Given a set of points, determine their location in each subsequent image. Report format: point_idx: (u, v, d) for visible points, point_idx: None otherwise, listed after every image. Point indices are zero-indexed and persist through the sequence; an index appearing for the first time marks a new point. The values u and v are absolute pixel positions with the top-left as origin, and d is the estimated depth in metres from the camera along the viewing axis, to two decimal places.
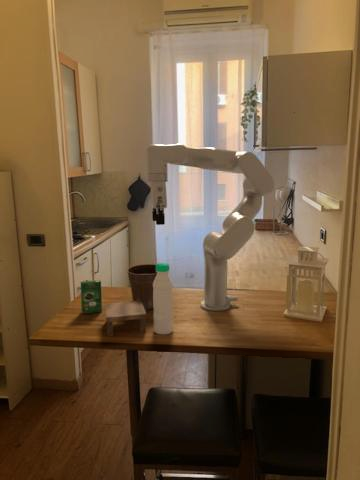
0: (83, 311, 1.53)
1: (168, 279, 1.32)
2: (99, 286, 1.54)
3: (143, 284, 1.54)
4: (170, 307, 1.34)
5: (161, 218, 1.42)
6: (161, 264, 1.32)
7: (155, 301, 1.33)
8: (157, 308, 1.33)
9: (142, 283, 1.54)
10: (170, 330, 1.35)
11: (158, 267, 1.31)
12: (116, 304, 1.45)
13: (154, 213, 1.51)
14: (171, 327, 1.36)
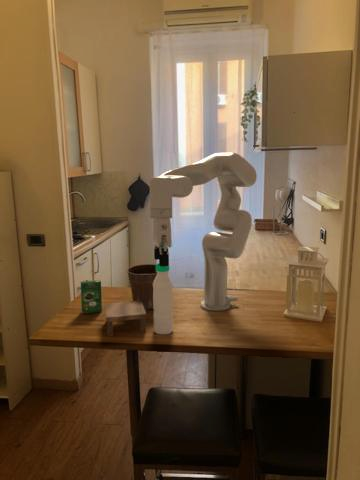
0: (83, 311, 1.53)
1: (168, 279, 1.32)
2: (99, 286, 1.54)
3: (143, 284, 1.54)
4: (170, 307, 1.34)
5: (165, 259, 1.26)
6: None
7: (155, 301, 1.33)
8: (157, 308, 1.33)
9: (142, 283, 1.54)
10: (170, 330, 1.35)
11: (158, 267, 1.31)
12: (116, 304, 1.45)
13: (156, 251, 1.36)
14: (171, 327, 1.36)
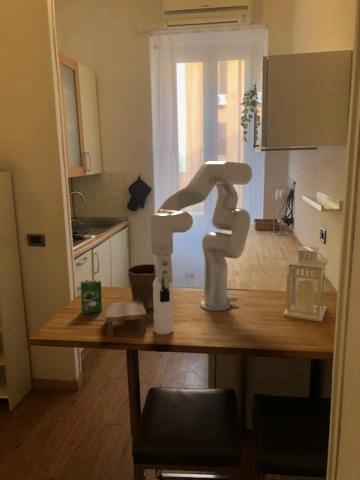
0: (83, 311, 1.53)
1: None
2: (99, 286, 1.54)
3: (143, 284, 1.54)
4: (170, 307, 1.34)
5: (166, 295, 1.30)
6: None
7: (155, 301, 1.33)
8: (157, 309, 1.33)
9: (142, 283, 1.54)
10: (170, 330, 1.35)
11: None
12: (116, 304, 1.45)
13: None
14: (171, 327, 1.36)
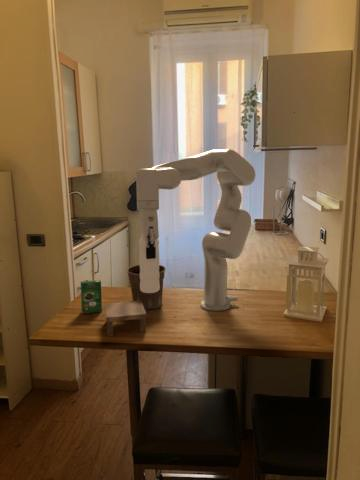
0: (83, 311, 1.53)
1: None
2: (99, 286, 1.54)
3: None
4: (156, 265, 1.32)
5: (152, 252, 1.29)
6: None
7: (141, 258, 1.31)
8: (143, 266, 1.31)
9: None
10: (156, 289, 1.33)
11: None
12: (116, 304, 1.45)
13: None
14: (157, 286, 1.34)
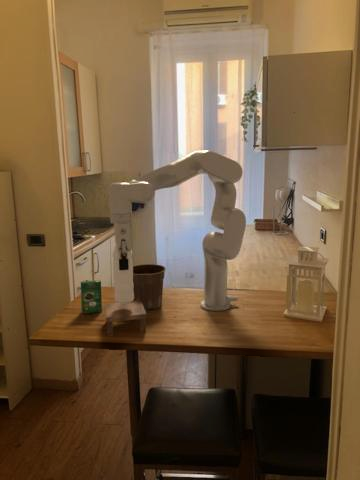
0: (83, 311, 1.53)
1: None
2: (99, 286, 1.54)
3: (143, 284, 1.54)
4: (130, 276, 1.36)
5: (124, 263, 1.33)
6: None
7: (115, 270, 1.35)
8: (116, 277, 1.35)
9: (142, 283, 1.54)
10: (130, 299, 1.37)
11: None
12: (116, 304, 1.45)
13: None
14: (131, 296, 1.38)
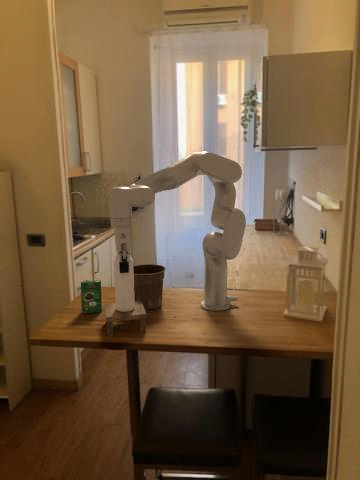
0: (83, 311, 1.53)
1: (128, 257, 1.35)
2: (99, 286, 1.54)
3: (143, 284, 1.54)
4: (131, 285, 1.36)
5: (125, 266, 1.32)
6: None
7: (116, 279, 1.35)
8: (118, 286, 1.35)
9: (142, 283, 1.54)
10: (131, 307, 1.38)
11: None
12: None
13: None
14: (132, 305, 1.38)
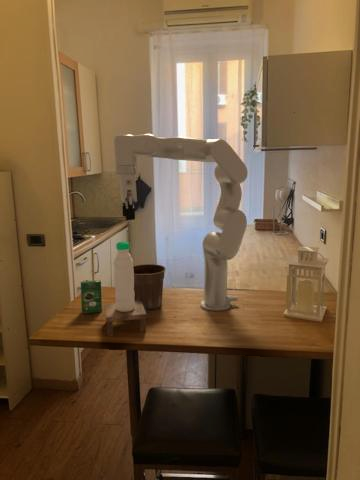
0: (83, 311, 1.53)
1: (128, 257, 1.35)
2: (99, 286, 1.54)
3: (143, 284, 1.54)
4: (131, 285, 1.36)
5: (131, 213, 1.34)
6: (122, 242, 1.35)
7: (116, 279, 1.35)
8: (118, 286, 1.35)
9: (142, 283, 1.54)
10: (131, 307, 1.38)
11: (118, 245, 1.33)
12: None
13: (124, 208, 1.43)
14: (132, 305, 1.38)
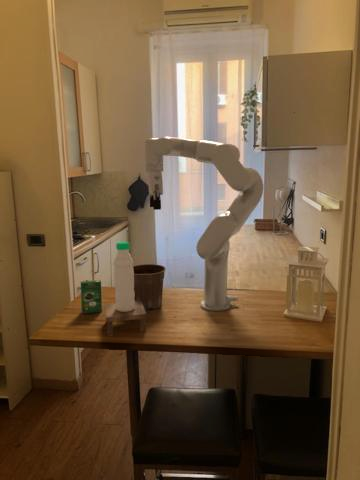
0: (83, 311, 1.53)
1: (129, 257, 1.35)
2: (99, 286, 1.54)
3: (143, 284, 1.54)
4: (131, 285, 1.36)
5: (158, 203, 1.60)
6: (122, 242, 1.35)
7: (116, 279, 1.35)
8: (118, 286, 1.35)
9: (142, 283, 1.54)
10: (131, 307, 1.38)
11: (118, 245, 1.34)
12: None
13: (151, 200, 1.69)
14: (132, 305, 1.38)
